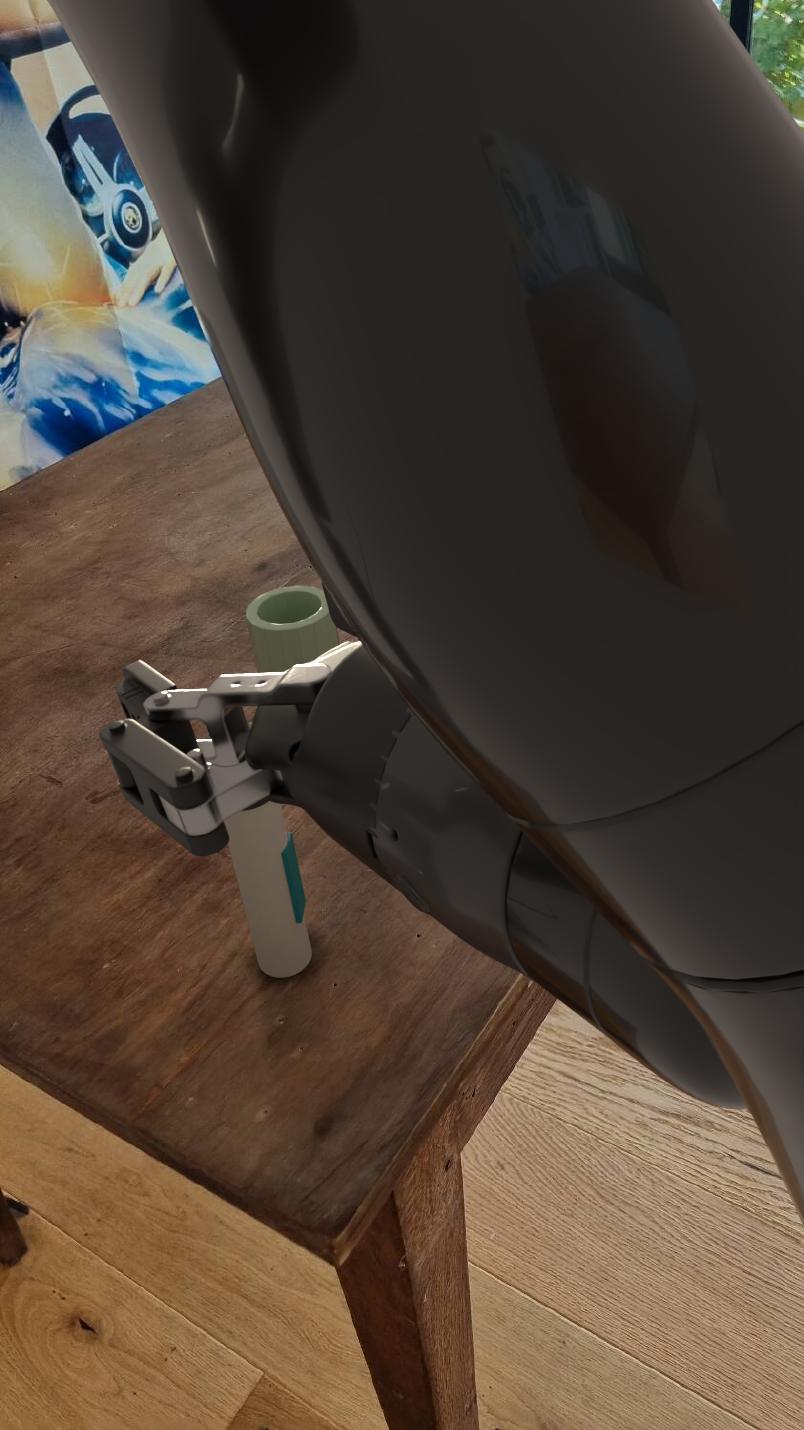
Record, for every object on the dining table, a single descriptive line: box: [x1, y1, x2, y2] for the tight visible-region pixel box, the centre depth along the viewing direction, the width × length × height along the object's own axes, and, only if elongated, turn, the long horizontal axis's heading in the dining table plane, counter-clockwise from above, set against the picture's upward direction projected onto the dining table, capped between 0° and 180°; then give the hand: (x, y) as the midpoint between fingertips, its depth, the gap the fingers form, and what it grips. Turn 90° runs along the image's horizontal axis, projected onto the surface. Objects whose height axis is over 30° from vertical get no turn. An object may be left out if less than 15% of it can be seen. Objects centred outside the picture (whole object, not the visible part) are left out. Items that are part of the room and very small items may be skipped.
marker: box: [204, 722, 313, 979], centre depth 57 cm, size 3×3×15 cm
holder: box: [245, 585, 341, 673], centre depth 79 cm, size 6×6×8 cm
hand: (239, 640), depth 42 cm, fingers open, 8 cm apart
